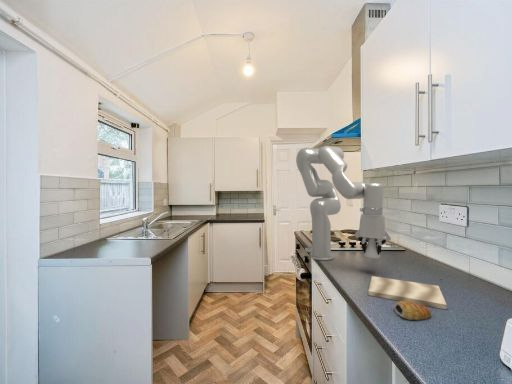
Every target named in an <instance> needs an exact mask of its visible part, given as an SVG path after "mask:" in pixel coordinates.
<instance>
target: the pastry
mask: <svg viewBox="0 0 512 384" xmlns="http://www.w3.org/2000/svg"><path fill="white" fill-rule="evenodd" d="M393 310H394V312H395V313H396V314H397V315H399V316H400V317H401V318H403V319H405V320H407V321H409V320H410V321H413V320H415V321H421V320H426V319H429V318H430V317H431V310H430V309H429V308H428V306H424V305H419V304H417V303H413V302H410V301H405V302H404V301H395V302H394V305H393Z"/></svg>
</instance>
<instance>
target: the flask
mask: <svg viewBox="0 0 512 384" xmlns="http://www.w3.org/2000/svg"><path fill="white" fill-rule="evenodd" d="M377 246H378V245H377V241H376V239H371V238H368V242H367V243H366V252H365V253H364V252H363V254H362V257H363V258H365V259H371V260H380V259H381V254H379V255H378V253H377Z"/></svg>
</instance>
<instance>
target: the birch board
mask: <svg viewBox="0 0 512 384" xmlns="http://www.w3.org/2000/svg"><path fill="white" fill-rule="evenodd" d="M368 296H371V297H376V298H381V299H388V300H392V301H396V302H400V301H404V302H405V301H410V302H413V303H417V304H419V305H423V306H425V307H431V308H436V309H437V308H438V309H442V310H446V311H447V307H448V305H447V303H446V299H445V297H444V295H443V293H442V291H441V289H440V286H439V285H435V284H429V283H420V282H414V281H408V280H402V279H393V278H388V277H382V276H374V275H372V276H371V279H370V283H369V287H368Z"/></svg>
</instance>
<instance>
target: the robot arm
mask: <svg viewBox="0 0 512 384" xmlns="http://www.w3.org/2000/svg"><path fill="white" fill-rule="evenodd" d="M344 158H345V152H344V151H343V149H342V148H341V147H338V146H334V145H333V146H332V145H324V146H321V147H320V148H318V147H316V148H315V147H304V148H301V149H300V150H299V151H298V152H297V154H296V160H295V161H296V166H297V170H298V171H299V172H300V173H299V174H300V176H301V178H302V181H303V185H304V187H305V190H306V192H307V194H308V196H310V197H311V198H315V199H313V200H312V201H311V202H310V204H309V211H310V215H311V237H312V239H311V242H312V243H311V244H312V245H311V247H305V248H304V251H305V253H309V255H308V256H309V258H310V259H312V260H316V261H331V260H334V258H335V257H334V254H332V251H331V250H332V249H331V248H332V247H331V246H332V244H331V243H332V240H331V233H332V232H331V229H332V228H331V221H330V218H329V216H334V215H337V214H338V213H339V212H340V211H341V200H340V199H339V195H338V193H339V194H340V195H341V196H342V197H343V198H344V199H346V200H360V199H363V207H361V208H359V212H362V214H360V219H359V228H358V230H356V231H355V233H354V234H353V236H354V237H355V238H357V239H358V241H359V242H361V244H362V245H361V246H362V248H361V250H362V251H363V254H364V253H365V252H366V247H367V242H366V241H367V239H369V238H371V239H375V240H377V245H376V246H377V253H378V255H380V253H382V246H383V245H384V244H386V243H387V242H388V241H391V239H392V238H391V236H390V235H389V233H388V232H387V231H386V220H385V214H383V208H384V205H383V204H384V185H383V184H382V183H378V182H361V181H358V182H357V181H355V182H354V181H350V180H349V179H348V177H347V176H346V175H345V174H344V173H346V171H347V168H348V164H347V162H346V161H345V160H344ZM312 164H315V165H316V164H319V165H320V164H322V165H324V167H325V168H326V169H327V171H328V172H329V173H330V174H331V181H332V182H331V181H330V180H328V179H321V178H320V176H319V175H318V171H317V170H316V168H315V167H314V166H313V165H312ZM337 192H338V193H337Z"/></svg>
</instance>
